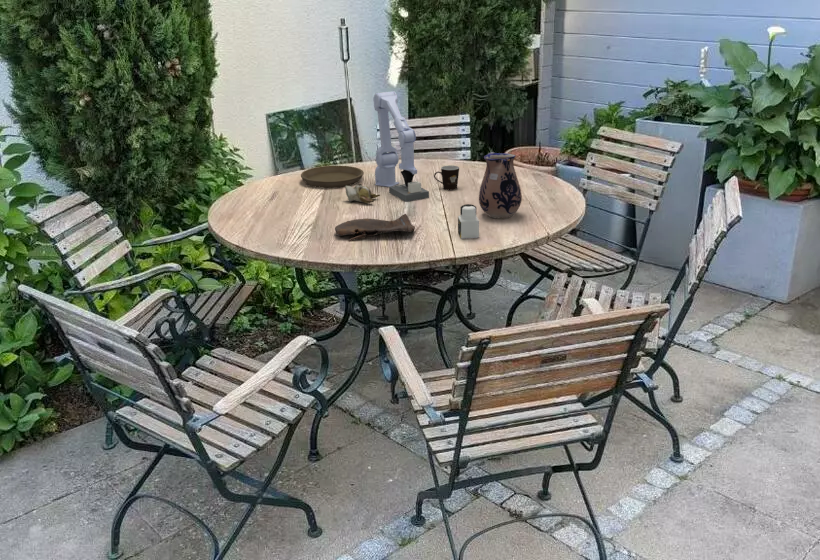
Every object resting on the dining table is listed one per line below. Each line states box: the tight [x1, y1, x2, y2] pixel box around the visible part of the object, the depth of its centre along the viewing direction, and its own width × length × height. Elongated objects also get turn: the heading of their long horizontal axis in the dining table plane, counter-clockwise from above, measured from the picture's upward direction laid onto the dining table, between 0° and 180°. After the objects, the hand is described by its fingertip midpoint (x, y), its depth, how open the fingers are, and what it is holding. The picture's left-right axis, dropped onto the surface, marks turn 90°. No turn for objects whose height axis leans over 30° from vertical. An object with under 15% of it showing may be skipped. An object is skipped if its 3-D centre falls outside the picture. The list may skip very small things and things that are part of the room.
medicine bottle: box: [457, 203, 480, 240], centre depth 275 cm, size 7×7×12 cm
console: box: [388, 183, 430, 203], centre depth 330 cm, size 17×12×3 cm
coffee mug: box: [433, 164, 460, 191], centre depth 337 cm, size 12×9×10 cm
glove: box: [334, 213, 416, 242], centre depth 283 cm, size 32×20×5 cm, turn 91°
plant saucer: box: [300, 165, 364, 189], centre depth 357 cm, size 31×31×5 cm
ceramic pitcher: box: [478, 151, 523, 219], centre depth 295 cm, size 18×21×25 cm
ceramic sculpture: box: [344, 183, 381, 204], centre depth 322 cm, size 11×9×15 cm
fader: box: [408, 180, 422, 193], centre depth 323 cm, size 3×5×4 cm, turn 117°
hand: (408, 186), depth 329 cm, fingers closed
